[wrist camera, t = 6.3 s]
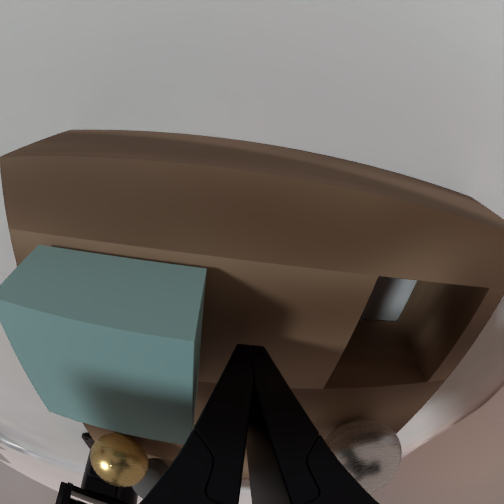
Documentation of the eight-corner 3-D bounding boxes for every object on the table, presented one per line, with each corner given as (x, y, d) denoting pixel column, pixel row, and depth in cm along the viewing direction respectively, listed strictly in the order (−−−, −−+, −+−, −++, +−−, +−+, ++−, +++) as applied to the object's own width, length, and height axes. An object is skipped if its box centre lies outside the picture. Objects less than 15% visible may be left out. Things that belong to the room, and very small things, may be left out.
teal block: (198, 384, 10) (191, 445, 8) (71, 359, 10) (49, 411, 7) (207, 268, 8) (193, 341, 5) (39, 244, 7) (-10, 296, 5)
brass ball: (155, 451, 14) (148, 498, 11) (104, 440, 14) (93, 484, 11) (149, 430, 13) (139, 484, 10) (91, 416, 12) (76, 467, 10)
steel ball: (368, 437, 14) (383, 496, 10) (302, 442, 13) (310, 509, 10) (403, 399, 12) (427, 468, 8) (328, 405, 12) (344, 487, 8)
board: (341, 428, 21) (350, 473, 17) (117, 411, 20) (105, 458, 16) (470, 197, 12) (530, 239, 8) (69, 130, 10) (-1, 157, 6)
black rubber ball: (180, 471, 16) (177, 509, 13) (137, 464, 16) (131, 500, 13) (178, 457, 15) (174, 500, 12) (130, 448, 14) (122, 490, 12)
